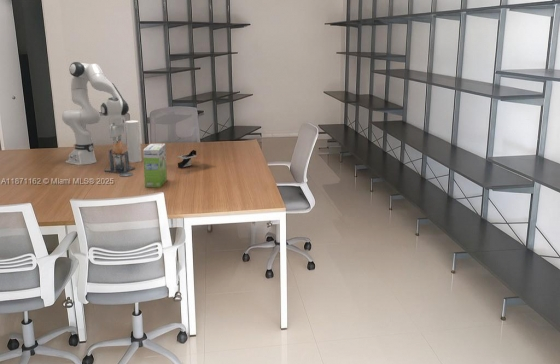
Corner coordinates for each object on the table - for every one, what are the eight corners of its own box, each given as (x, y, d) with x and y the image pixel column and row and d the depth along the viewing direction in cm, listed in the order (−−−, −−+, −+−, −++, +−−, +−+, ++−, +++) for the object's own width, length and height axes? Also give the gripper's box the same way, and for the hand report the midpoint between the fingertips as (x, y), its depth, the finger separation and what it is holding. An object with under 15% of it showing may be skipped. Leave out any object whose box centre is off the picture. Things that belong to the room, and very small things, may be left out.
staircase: (177, 168, 374) (176, 151, 371) (189, 165, 382) (188, 148, 378) (185, 170, 369) (184, 153, 365) (197, 167, 376) (196, 150, 372)
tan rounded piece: (109, 155, 364) (108, 142, 361) (115, 153, 369) (114, 140, 366) (122, 156, 360) (120, 143, 357) (127, 154, 365) (126, 141, 362)
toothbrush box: (161, 187, 328) (158, 149, 321) (144, 187, 328) (141, 149, 321) (168, 179, 345) (165, 143, 338) (152, 179, 345) (149, 143, 338)
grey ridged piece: (104, 171, 364) (102, 151, 360) (118, 166, 377) (116, 147, 373) (121, 174, 358) (120, 153, 354) (135, 169, 371) (133, 149, 367)
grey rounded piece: (116, 176, 354) (116, 175, 353) (125, 172, 361) (125, 171, 361) (127, 177, 350) (126, 176, 350) (135, 174, 358) (135, 173, 358)
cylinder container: (138, 162, 388) (134, 122, 380) (126, 162, 390) (122, 121, 381) (143, 159, 397) (140, 119, 388) (132, 159, 399) (128, 119, 390)
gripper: (115, 124, 348) (117, 145, 352) (124, 119, 368) (126, 139, 371) (106, 124, 348) (108, 145, 352) (115, 119, 368) (117, 139, 371)
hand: (117, 142), depth 362 cm, fingers open, 8 cm apart
